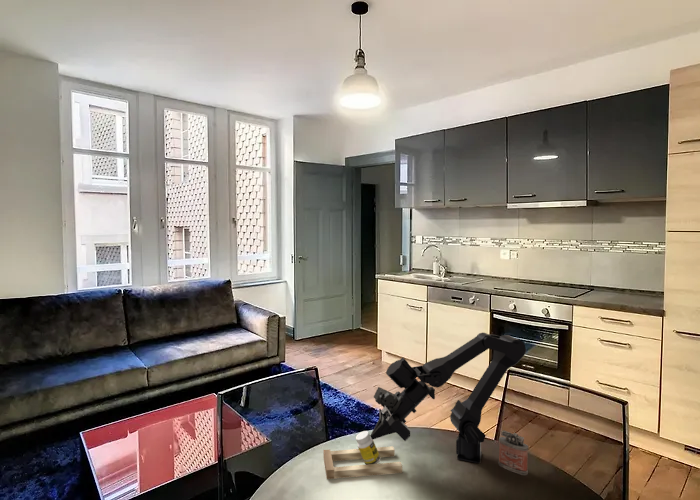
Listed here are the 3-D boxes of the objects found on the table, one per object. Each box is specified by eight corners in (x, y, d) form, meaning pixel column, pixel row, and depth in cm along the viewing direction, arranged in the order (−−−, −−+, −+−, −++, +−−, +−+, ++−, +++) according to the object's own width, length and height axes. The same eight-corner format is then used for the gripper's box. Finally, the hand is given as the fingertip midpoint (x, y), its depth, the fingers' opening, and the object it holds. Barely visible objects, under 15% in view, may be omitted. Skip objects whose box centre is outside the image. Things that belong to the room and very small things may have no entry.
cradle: (392, 452, 125) (392, 444, 125) (402, 472, 114) (402, 463, 114) (323, 458, 122) (323, 449, 122) (326, 479, 111) (326, 470, 111)
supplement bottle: (379, 464, 116) (368, 438, 115) (364, 468, 117) (353, 442, 116) (381, 453, 120) (370, 428, 120) (366, 458, 121) (355, 432, 121)
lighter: (529, 471, 115) (530, 436, 115) (525, 476, 112) (525, 440, 112) (501, 460, 120) (501, 427, 120) (496, 465, 118) (496, 431, 118)
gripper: (383, 368, 128) (347, 405, 126) (399, 391, 109) (357, 434, 108) (407, 393, 129) (372, 429, 128) (427, 419, 111) (386, 462, 109)
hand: (371, 437), depth 118 cm, fingers closed, pressing on supplement bottle
